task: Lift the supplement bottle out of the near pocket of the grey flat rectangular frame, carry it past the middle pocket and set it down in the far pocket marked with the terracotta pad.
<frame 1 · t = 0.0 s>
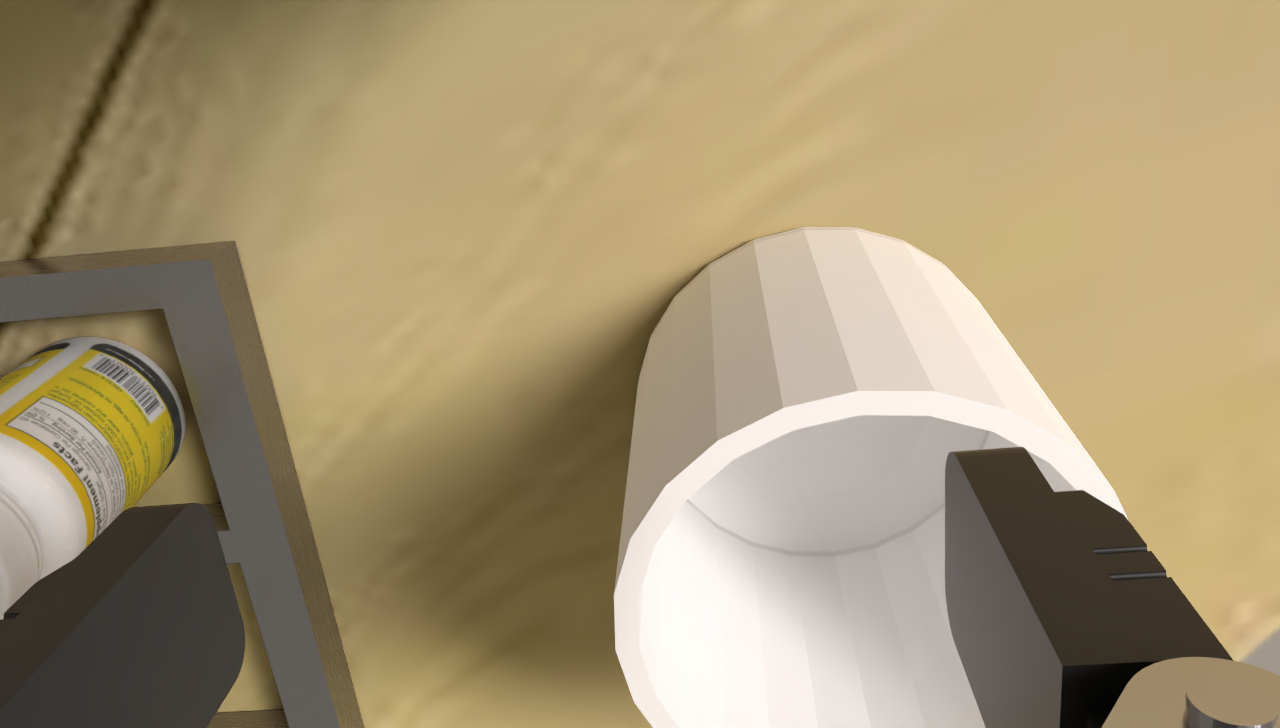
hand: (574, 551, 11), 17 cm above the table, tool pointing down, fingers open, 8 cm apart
mug: (841, 425, 30), on the table
supplement bottle: (113, 404, 31), resting in grey flat rectangular frame
grey flat rectangular frame: (183, 629, 34), on the table
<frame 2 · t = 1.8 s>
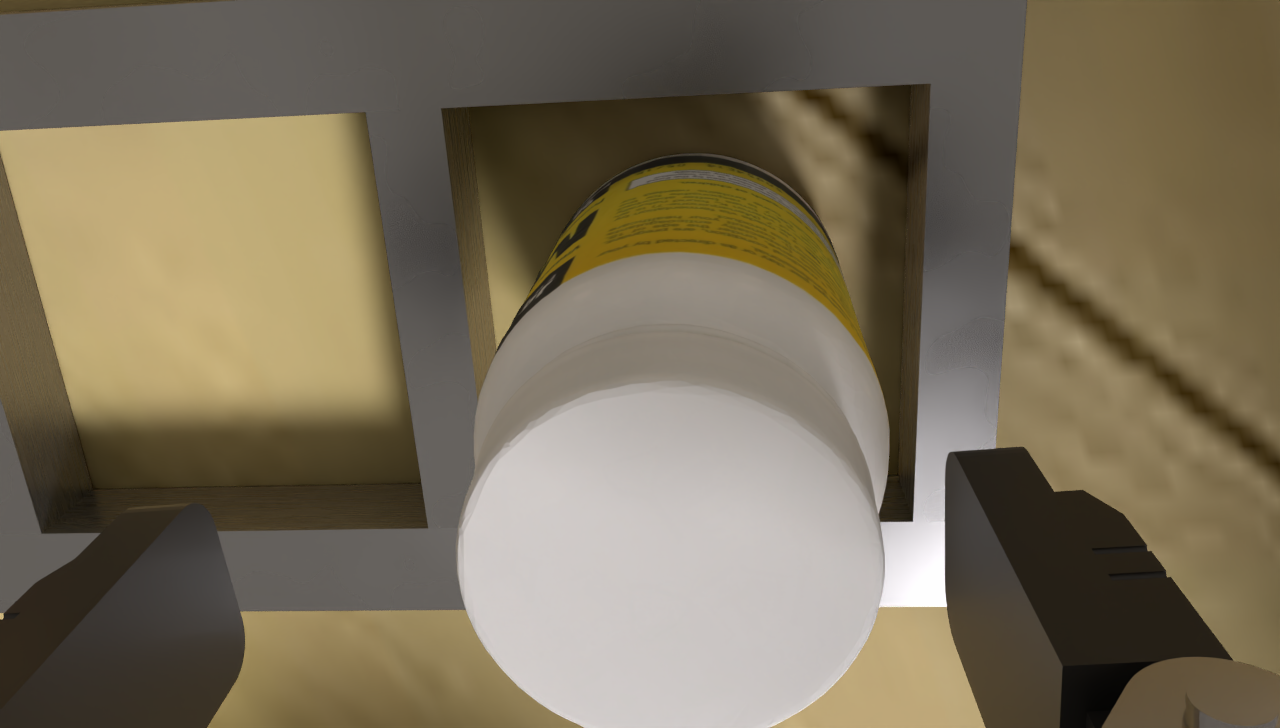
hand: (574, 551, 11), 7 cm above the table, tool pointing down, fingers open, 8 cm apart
supplement bottle: (694, 290, 18), resting in grey flat rectangular frame
grey flat rectangular frame: (232, 310, 18), on the table
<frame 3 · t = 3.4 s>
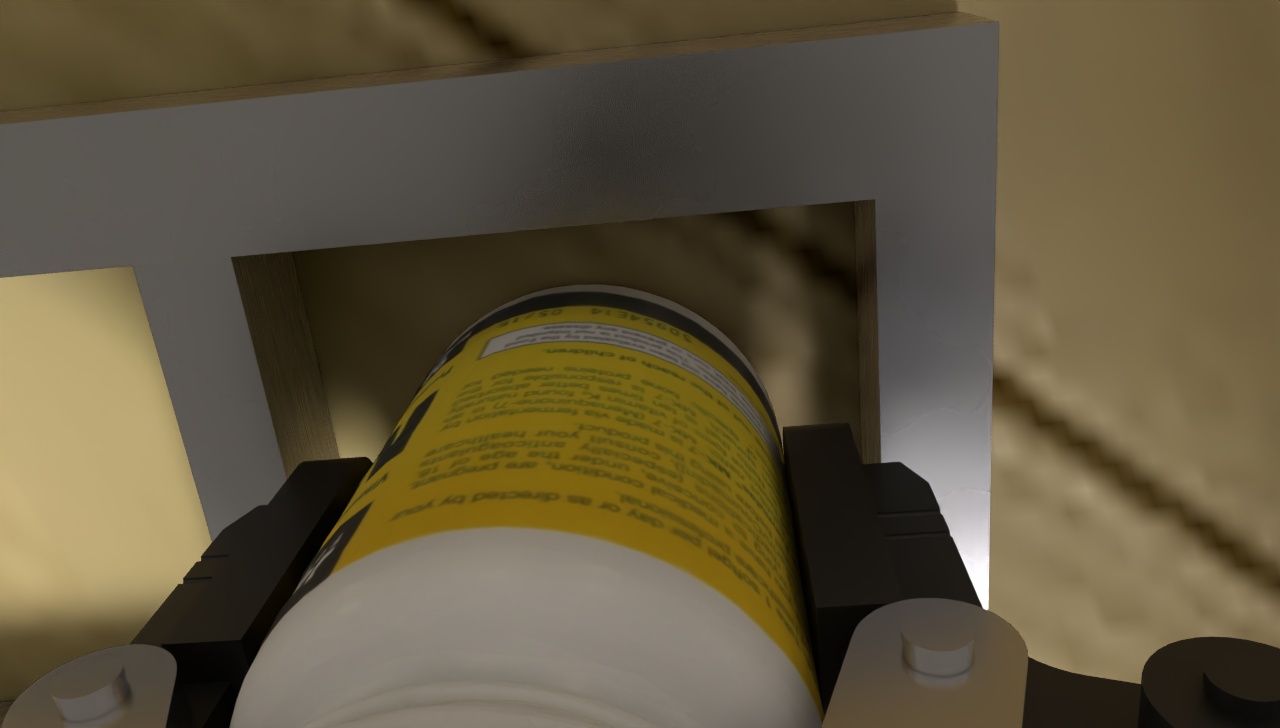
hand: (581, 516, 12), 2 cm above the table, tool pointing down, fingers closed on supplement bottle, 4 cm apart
supplement bottle: (598, 445, 14), resting in grey flat rectangular frame, touching gripper
grey flat rectangular frame: (22, 493, 14), on the table
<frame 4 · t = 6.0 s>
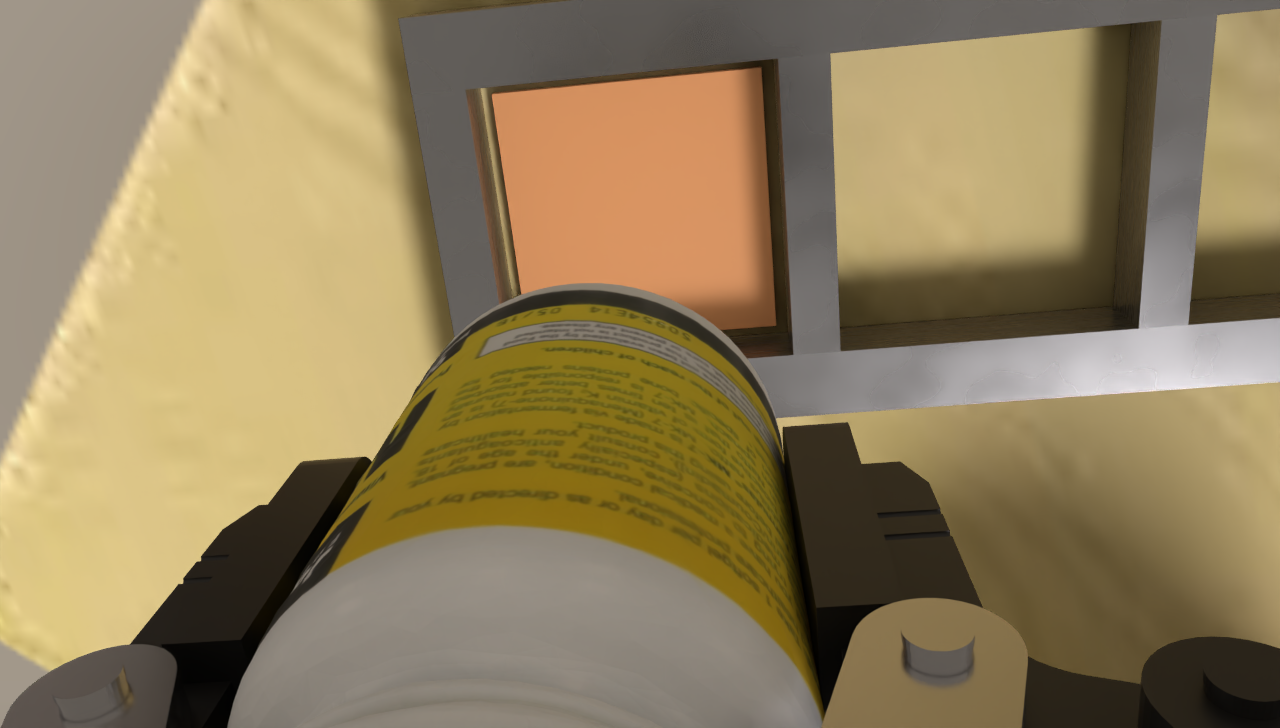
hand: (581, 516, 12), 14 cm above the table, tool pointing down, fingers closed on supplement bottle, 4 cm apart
marked hole pad: (639, 211, 26), resting in grey flat rectangular frame
supplement bottle: (597, 444, 14), point 13 cm above the table, touching gripper
grey flat rectangular frame: (973, 181, 25), on the table
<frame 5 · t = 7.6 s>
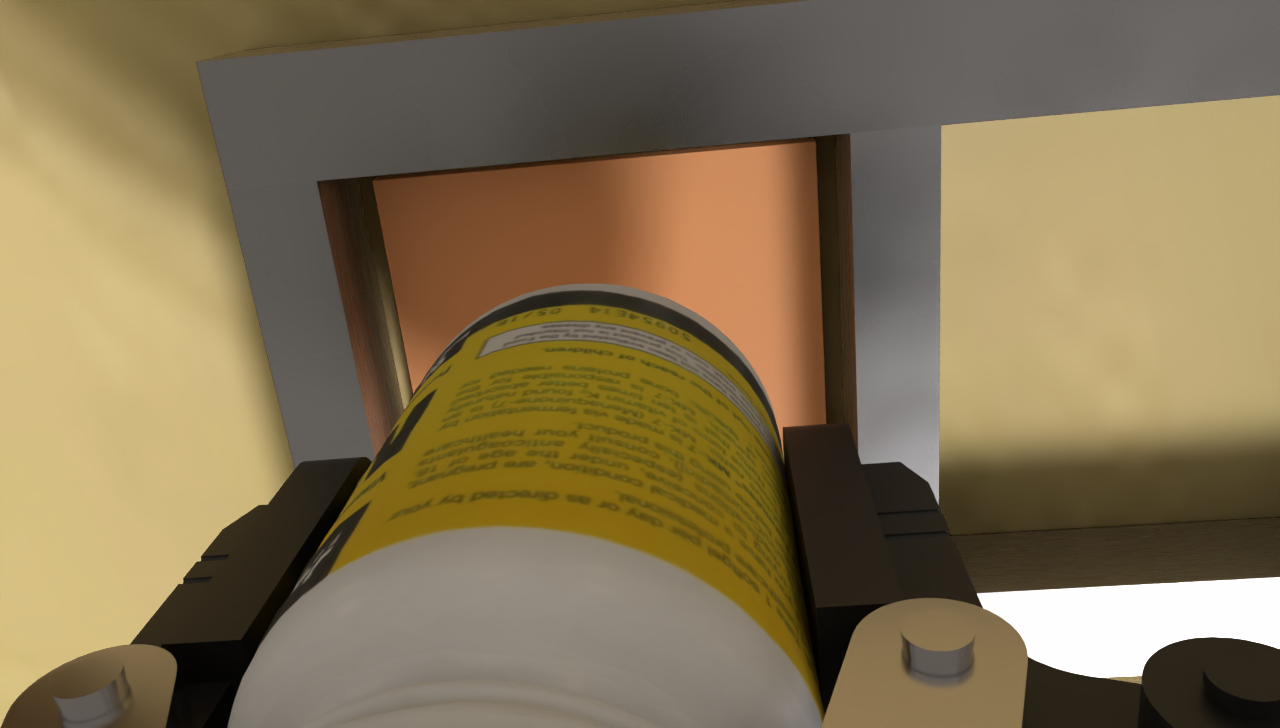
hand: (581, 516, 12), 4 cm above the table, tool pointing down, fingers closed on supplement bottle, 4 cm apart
marked hole pad: (615, 361, 16), resting in grey flat rectangular frame
supplement bottle: (597, 444, 14), point 2 cm above the table, touching gripper
grey flat rectangular frame: (1154, 322, 15), on the table
when the fingers open (3 cm above the table, at t = 8.7 s): supplement bottle drops 1 cm, resting on marked hole pad.
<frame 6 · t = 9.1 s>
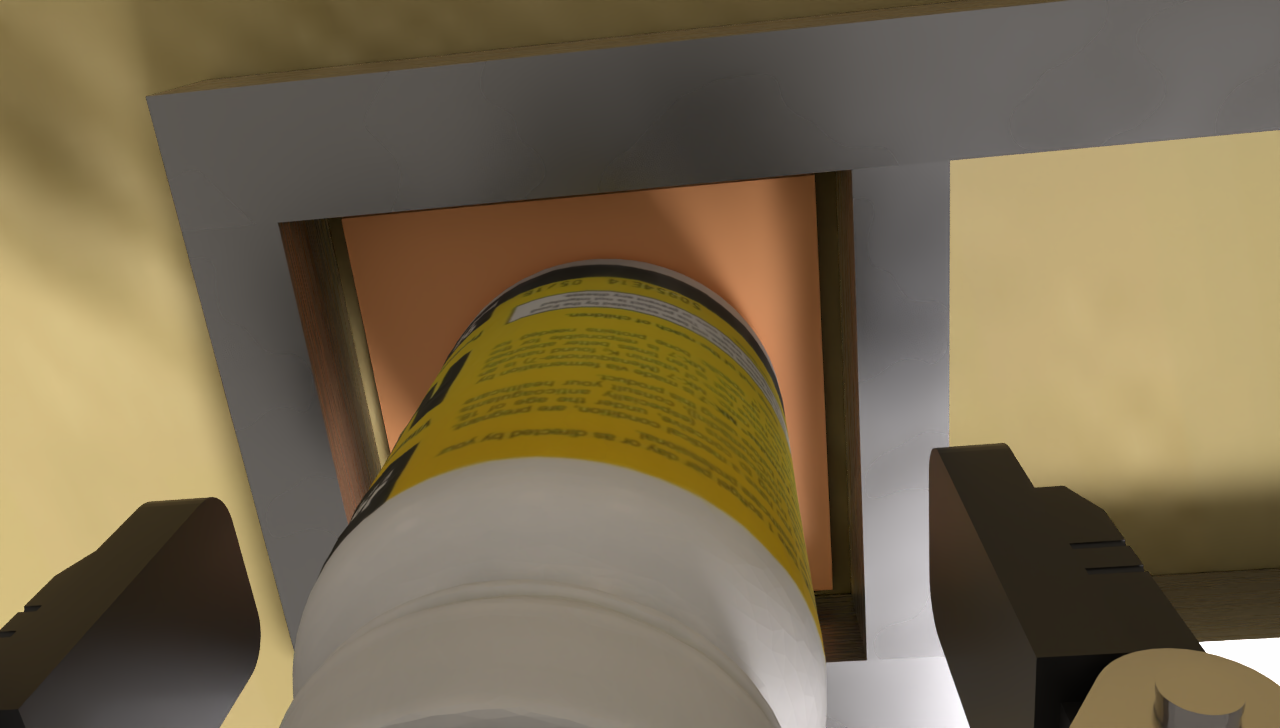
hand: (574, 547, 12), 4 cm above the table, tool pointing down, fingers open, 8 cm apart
marked hole pad: (603, 406, 15), resting in grey flat rectangular frame
supplement bottle: (613, 410, 15), resting on marked hole pad
grey flat rectangular frame: (1176, 362, 14), on the table
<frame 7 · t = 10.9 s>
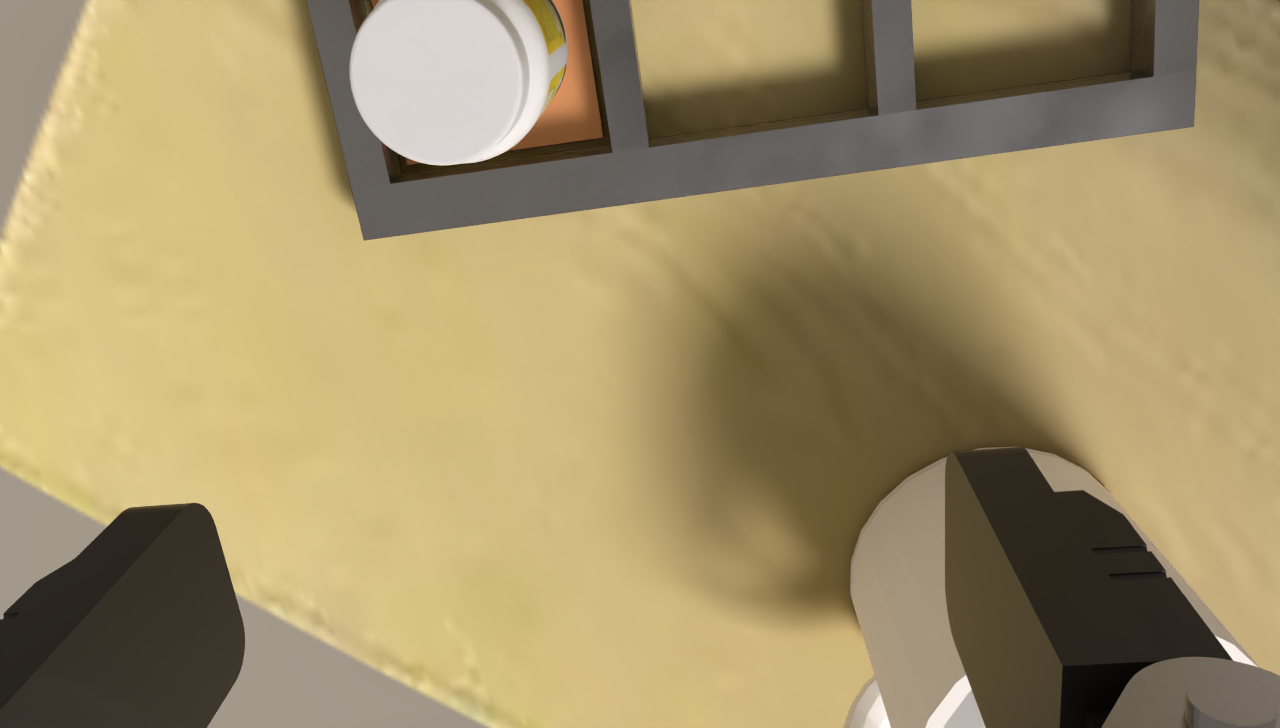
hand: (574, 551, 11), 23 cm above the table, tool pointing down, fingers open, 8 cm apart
marked hole pad: (487, 47, 32), resting in grey flat rectangular frame
mug: (955, 584, 39), on the table
supplement bottle: (491, 48, 32), resting on marked hole pad
grey flat rectangular frame: (746, 9, 32), on the table
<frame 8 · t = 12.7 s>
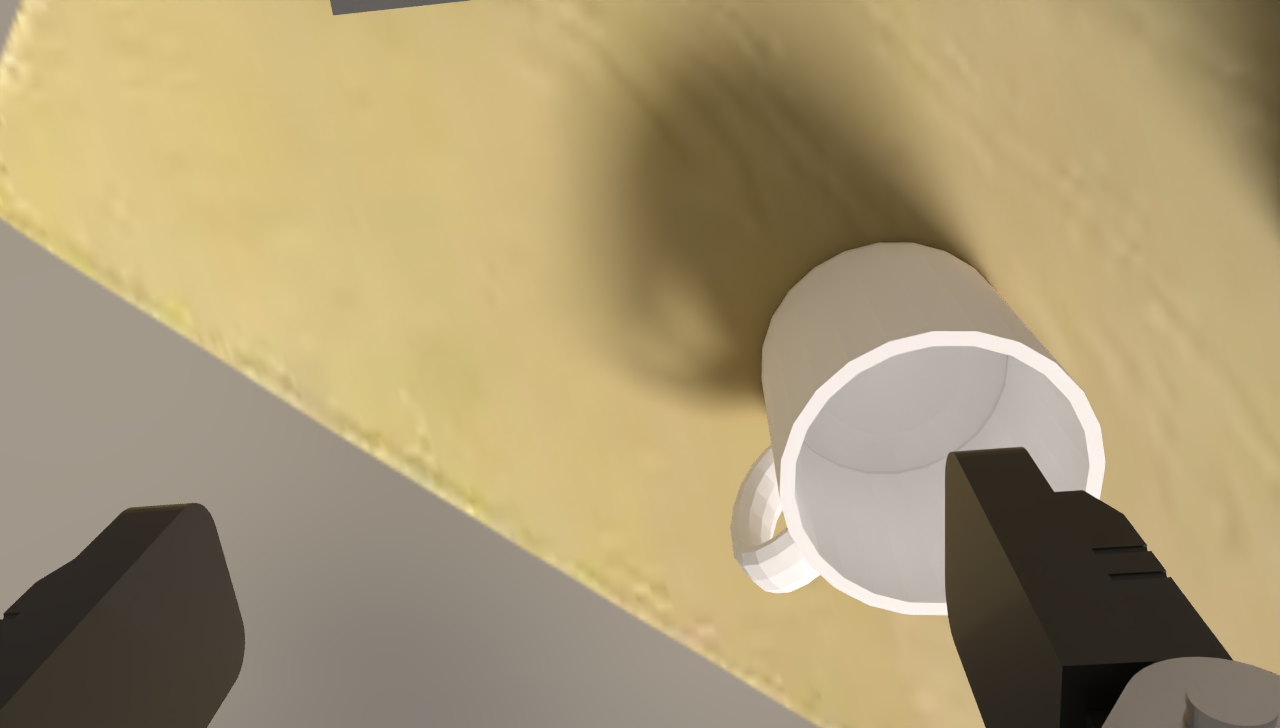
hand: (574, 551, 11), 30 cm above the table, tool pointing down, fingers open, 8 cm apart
mug: (857, 376, 43), on the table
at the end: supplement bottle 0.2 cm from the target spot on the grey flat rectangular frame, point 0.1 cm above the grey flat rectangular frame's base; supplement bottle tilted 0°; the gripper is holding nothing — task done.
